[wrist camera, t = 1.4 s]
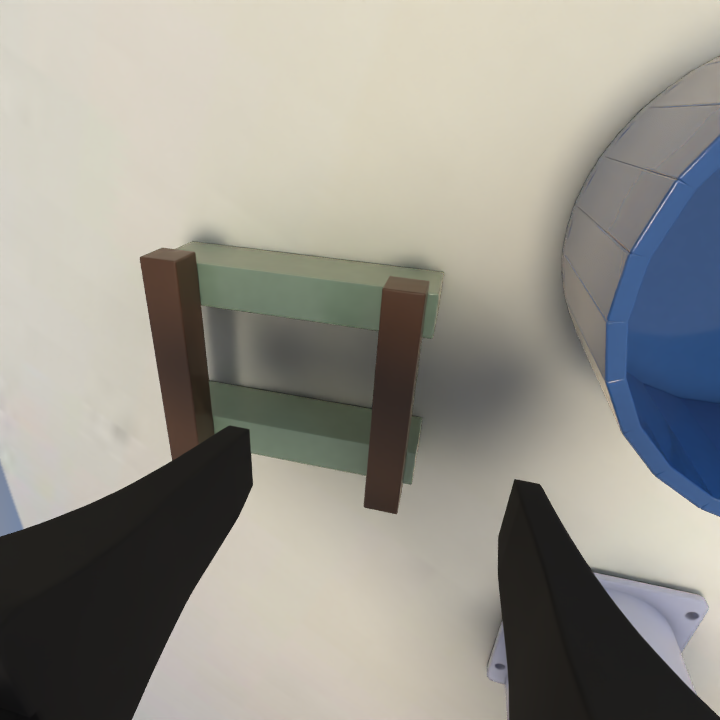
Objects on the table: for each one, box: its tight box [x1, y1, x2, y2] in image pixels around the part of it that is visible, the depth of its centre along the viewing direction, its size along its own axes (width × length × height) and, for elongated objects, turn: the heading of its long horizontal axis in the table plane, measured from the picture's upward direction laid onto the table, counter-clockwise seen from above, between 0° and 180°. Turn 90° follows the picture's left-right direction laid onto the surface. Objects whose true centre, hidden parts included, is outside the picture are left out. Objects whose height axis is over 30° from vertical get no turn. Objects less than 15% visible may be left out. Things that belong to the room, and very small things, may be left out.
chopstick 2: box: [364, 276, 430, 514], centre depth 16 cm, size 9×1×1 cm, turn 177°
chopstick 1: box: [140, 248, 214, 461], centre depth 18 cm, size 9×1×1 cm, turn 177°
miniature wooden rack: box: [176, 242, 444, 485], centre depth 19 cm, size 8×10×2 cm
